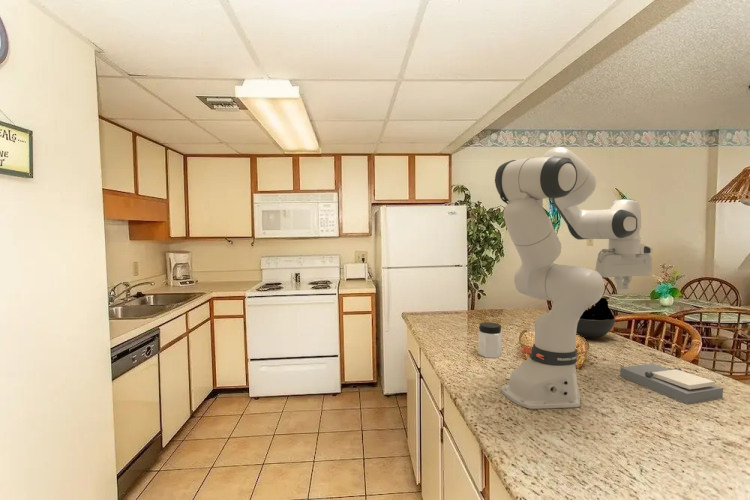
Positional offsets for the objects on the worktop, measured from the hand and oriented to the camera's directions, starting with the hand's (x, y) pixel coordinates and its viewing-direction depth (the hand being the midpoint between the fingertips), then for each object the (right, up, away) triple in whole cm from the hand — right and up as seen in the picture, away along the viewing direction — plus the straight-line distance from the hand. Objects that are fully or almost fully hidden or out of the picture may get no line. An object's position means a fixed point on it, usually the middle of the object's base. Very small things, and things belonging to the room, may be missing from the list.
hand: (622, 289), depth 125 cm
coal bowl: (+15, -27, +46) cm, 55 cm away
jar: (-38, -28, +22) cm, 52 cm away
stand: (+9, -30, -8) cm, 32 cm away
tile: (+10, -25, -12) cm, 30 cm away
